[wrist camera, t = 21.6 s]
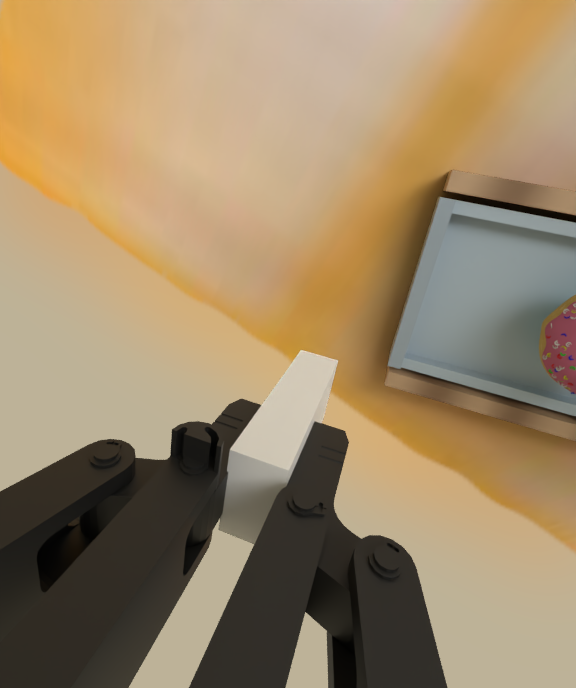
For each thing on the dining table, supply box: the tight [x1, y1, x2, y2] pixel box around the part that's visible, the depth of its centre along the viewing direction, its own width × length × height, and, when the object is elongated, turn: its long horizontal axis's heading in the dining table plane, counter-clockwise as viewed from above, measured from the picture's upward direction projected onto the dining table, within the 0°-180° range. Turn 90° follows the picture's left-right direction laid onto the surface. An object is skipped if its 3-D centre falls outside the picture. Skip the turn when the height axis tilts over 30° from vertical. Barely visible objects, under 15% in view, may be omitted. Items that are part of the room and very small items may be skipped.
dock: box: [384, 170, 576, 441], centre depth 32 cm, size 24×19×4 cm
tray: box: [387, 197, 576, 416], centre depth 33 cm, size 22×15×3 cm
